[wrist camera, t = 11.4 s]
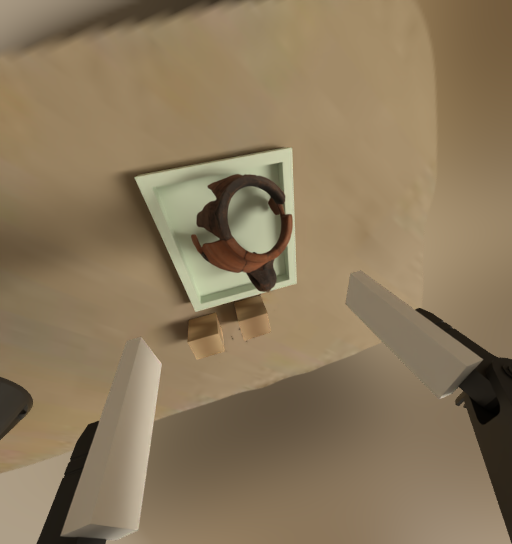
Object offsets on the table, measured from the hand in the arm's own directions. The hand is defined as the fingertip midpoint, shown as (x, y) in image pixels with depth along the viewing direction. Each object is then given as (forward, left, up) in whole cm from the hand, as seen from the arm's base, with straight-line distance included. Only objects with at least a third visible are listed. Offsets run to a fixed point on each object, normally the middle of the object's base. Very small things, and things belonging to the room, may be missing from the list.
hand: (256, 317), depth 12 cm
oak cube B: (0, -12, -13) cm, 18 cm away
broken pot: (0, -1, -14) cm, 14 cm away
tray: (0, 0, -13) cm, 13 cm away
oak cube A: (-7, -13, -13) cm, 20 cm away
